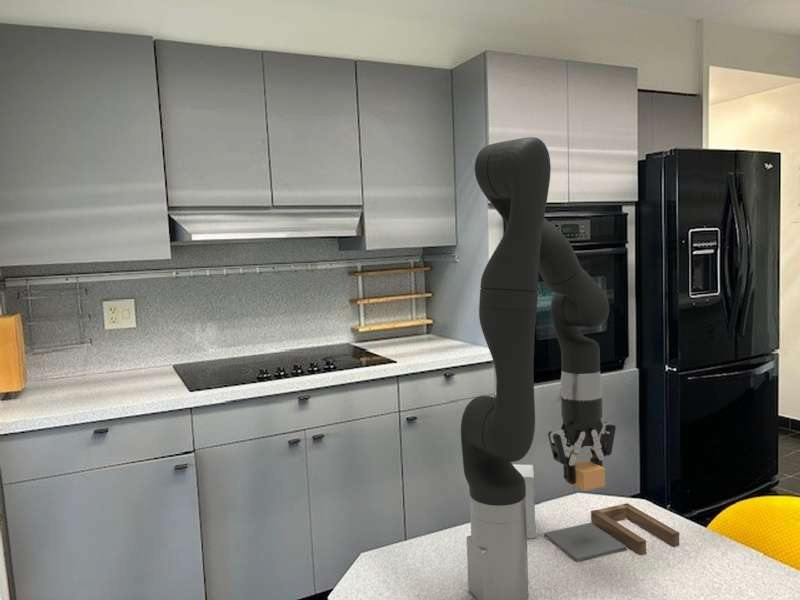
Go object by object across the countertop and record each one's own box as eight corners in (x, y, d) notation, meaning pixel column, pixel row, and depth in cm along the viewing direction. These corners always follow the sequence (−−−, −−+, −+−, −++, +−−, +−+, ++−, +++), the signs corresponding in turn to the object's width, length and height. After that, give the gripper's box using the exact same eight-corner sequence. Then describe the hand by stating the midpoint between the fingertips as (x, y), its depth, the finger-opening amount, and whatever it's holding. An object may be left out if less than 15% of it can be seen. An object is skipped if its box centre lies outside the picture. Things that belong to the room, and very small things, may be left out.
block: (583, 491, 113) (583, 472, 113) (566, 482, 118) (566, 464, 118) (605, 486, 115) (605, 468, 115) (587, 477, 120) (587, 459, 120)
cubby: (639, 555, 113) (639, 542, 113) (591, 522, 127) (590, 511, 126) (679, 545, 116) (679, 532, 116) (627, 514, 130) (627, 503, 129)
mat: (576, 561, 111) (576, 558, 111) (543, 535, 122) (543, 532, 122) (626, 549, 115) (626, 546, 115) (590, 525, 125) (590, 522, 125)
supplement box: (535, 539, 121) (534, 477, 120) (498, 537, 122) (496, 476, 121) (535, 522, 128) (533, 464, 127) (499, 520, 129) (497, 463, 128)
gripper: (600, 385, 122) (602, 467, 123) (537, 394, 117) (540, 479, 119) (625, 393, 115) (627, 480, 116) (560, 403, 110) (562, 494, 112)
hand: (583, 479), depth 117 cm, fingers closed on block, 5 cm apart
